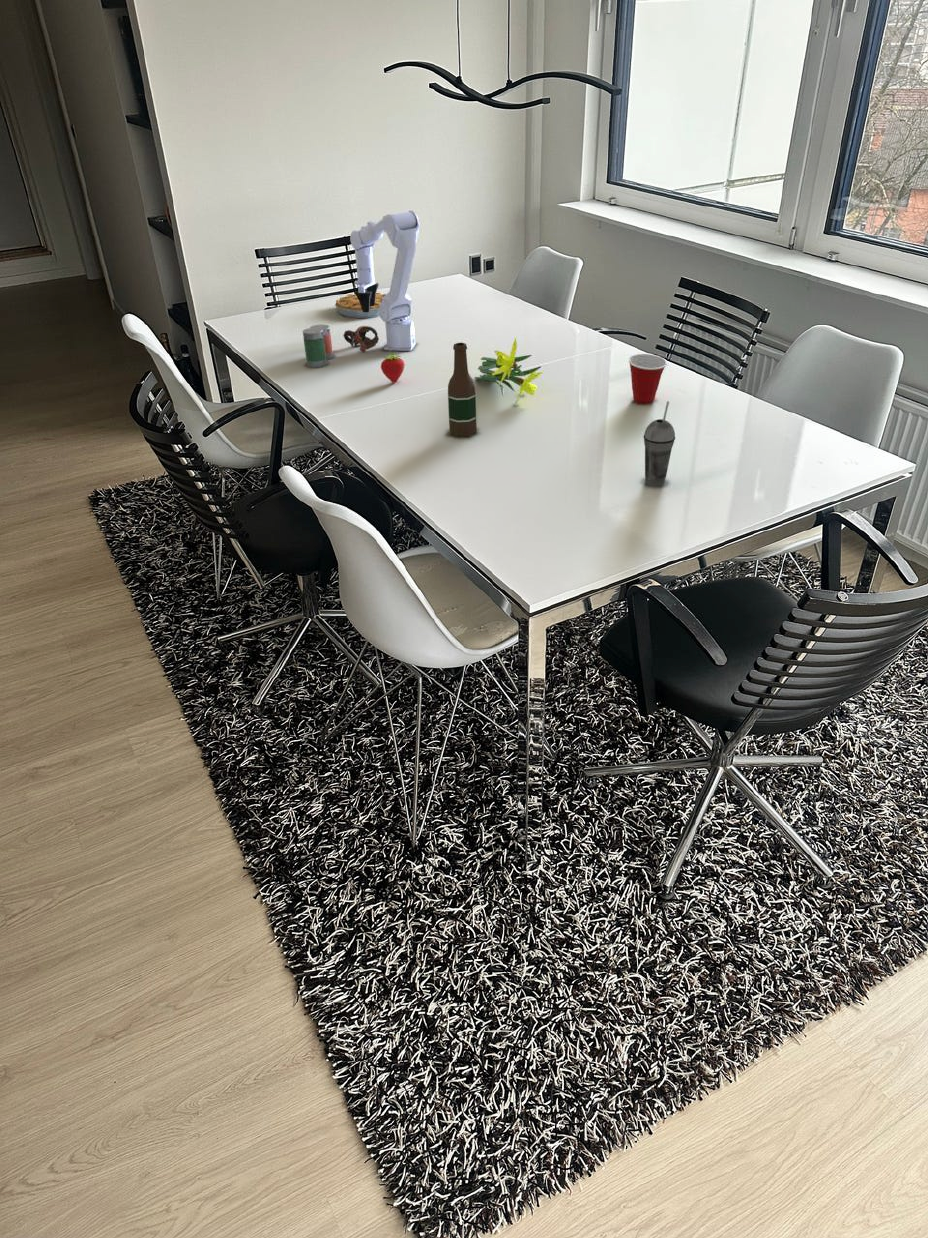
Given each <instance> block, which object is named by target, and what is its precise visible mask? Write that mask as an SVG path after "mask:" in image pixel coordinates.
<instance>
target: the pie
mask: <svg viewBox="0 0 928 1238" xmlns="http://www.w3.org/2000/svg"><path fill="white" fill-rule="evenodd" d="M386 294H387V293H384V294H382V293H381V292H376V298H375V305H374V306H370V310H369V312H363V311H362V308H361V305H360V302H359V300H358V298H357V296H356V295H355V293H354V294H352V293H349V294H346V296H341V297H339V299H338V298H337V299H336V300H335V304H334V306H335V307H336V308H337V310H338V312H339V314H341V315H342V316H344V317H349V318H356V319H368V318H375V317H380V315H379V305H380V303H381V302H382V298H383V297H384V296H385V295H386Z"/></svg>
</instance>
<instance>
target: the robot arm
mask: <svg viewBox="0 0 928 1238" xmlns="http://www.w3.org/2000/svg"><path fill="white" fill-rule="evenodd" d="M366 223H367V224H366V225H364V226H361V227H360V229H359V230H352V232H351V233H350V236H349V237H350V239H349V240H350V244H351V247H352V248H353V249H354V254H355V266H356V277H357V280H355V281H354V285H357V289H358V290H355V291H354V294H355V295H356V296H357V298H358V300H359V302H360V305H361V308H362V311H363V312H369V310H370V306H374V305H375V298H376V293H378V292H377V291H378V288H379V282H376V280H375V269H374V258H373V253H374V251H375V249H374V248H375V245H376V243H377V242H379V241H380V240H382V238H383V236H384V233H386V235H387V237H388V240H389V241H390V243H391V246H392V247H394V248H396V249H397V250H396V257H395V262H394V267H393V271H392V276H391V277H392V278H391V281H390V286H389V291H388V292H387V293H385V294H386V295H385V296H384V297H383V298H382V302H381V303H380V305H379V317H380V319H381V320H382V321H383V322H384V325H385V338H386V345H385V346H384V348H383V351H391V350H392V351H398V352H399V351H400V352H401V351H402V352H411V351H412V350H413V349H414V347H415V345H416V344H417V343H416V332H415V324H414V321H412V320H409V317H410V316H411V314H412V299H411V296H410V295H409V294H408V293H407V291H408V286H409V283H410V277H411V273H412V268H413V263H414V258H415V254H416V247H417V242H418V237H419V234H420V233H419V232H420V227H421V224H420V220H419V216H418V215H417V213H416V211H414V210H408V211H403V212H397V213H392V214H389V213H388V214H386V215H383V216H382V218H381V219H380V220H379V221H378V222H376V221H373V220H370V221H367V222H366Z"/></svg>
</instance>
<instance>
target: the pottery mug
mask: <svg viewBox="0 0 928 1238" xmlns="http://www.w3.org/2000/svg"><path fill="white" fill-rule="evenodd" d="M369 332H372V334H374V337H373V338H371V337H368V336H366V335H367V333H369ZM342 336H343V338H344V340H345V341H346V342H347V343H349V344H350V346H351V347H356V346H358V345H360V347H359V351H360V353H361V352H362V353H365V352H366V351H367V350H370V349H371V348H372V349H373V347H376V346H377V344H378V343H379V341H380V338H379V336H378V332H377V329H375V328H373V327H372V326H370V325H361V326H359V327H358V328H356V330H355V331H354V330H348V329H347V330H345V331H344V333H343V335H342Z"/></svg>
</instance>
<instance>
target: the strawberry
mask: <svg viewBox="0 0 928 1238" xmlns="http://www.w3.org/2000/svg"><path fill="white" fill-rule="evenodd" d="M390 352H392V353H390V354H389V356H386V357H384V360H382V361H381V363H380V369H381V371H382V374H383V375H384V376H385V377H386V378H387V379H388V380H389V381H390V382H391V383H392V384H396V383H397V382H398V380H399V379H400V377H401V376H402V374H403V373H404V370H405V361H404V360H403V359H402V355H395V353H394V350H390Z"/></svg>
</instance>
